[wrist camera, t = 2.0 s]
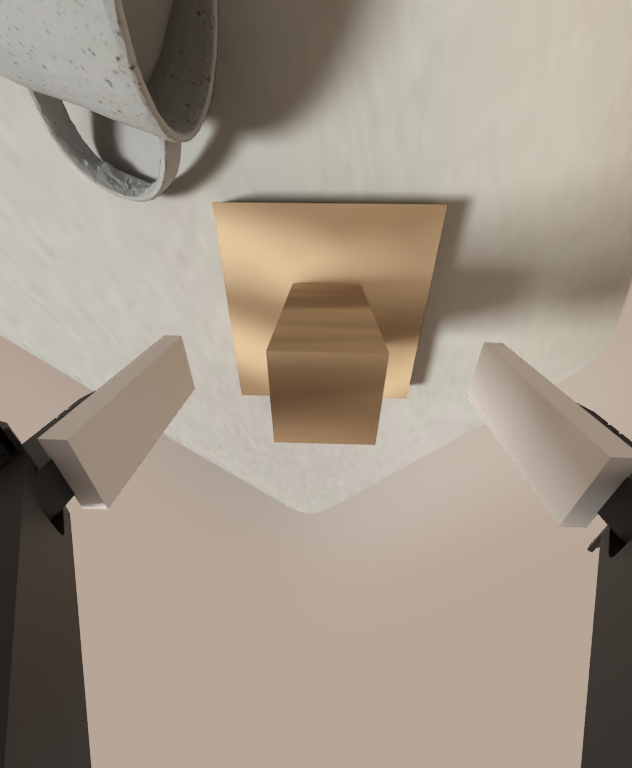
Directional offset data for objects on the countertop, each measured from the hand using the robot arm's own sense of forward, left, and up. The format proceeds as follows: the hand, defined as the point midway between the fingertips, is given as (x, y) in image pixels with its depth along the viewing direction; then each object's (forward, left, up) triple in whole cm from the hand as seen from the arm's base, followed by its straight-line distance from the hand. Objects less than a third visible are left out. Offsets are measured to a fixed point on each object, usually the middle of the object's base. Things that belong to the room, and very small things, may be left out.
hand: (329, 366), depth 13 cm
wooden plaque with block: (0, 0, -7) cm, 7 cm away
